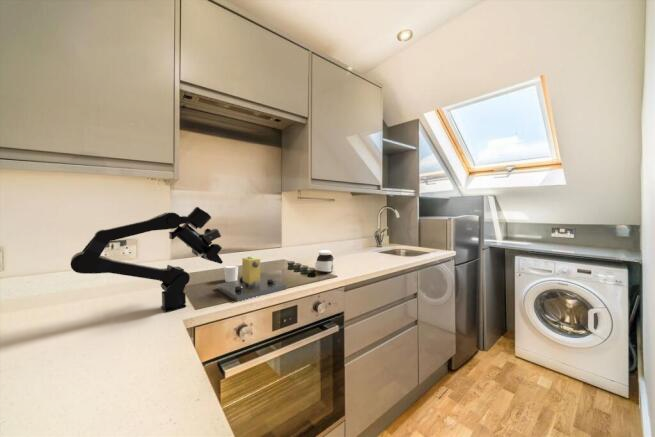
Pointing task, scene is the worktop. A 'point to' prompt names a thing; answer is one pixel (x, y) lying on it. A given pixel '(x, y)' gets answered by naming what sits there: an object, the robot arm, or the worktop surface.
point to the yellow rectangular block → (251, 269)
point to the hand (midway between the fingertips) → (221, 262)
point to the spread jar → (325, 262)
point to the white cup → (231, 273)
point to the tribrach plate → (250, 288)
